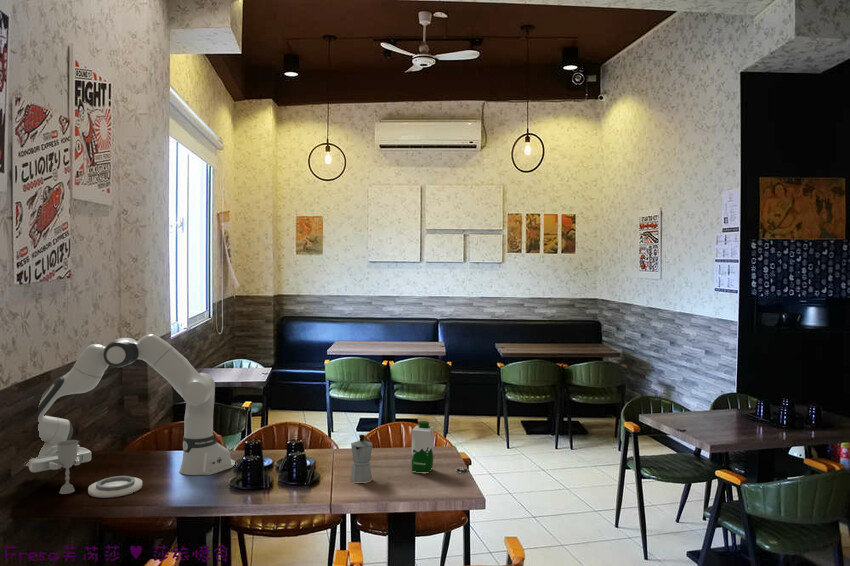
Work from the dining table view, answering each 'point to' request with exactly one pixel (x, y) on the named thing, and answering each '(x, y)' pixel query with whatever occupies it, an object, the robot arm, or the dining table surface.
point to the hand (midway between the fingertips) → (68, 464)
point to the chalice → (67, 461)
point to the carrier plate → (115, 486)
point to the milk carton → (422, 447)
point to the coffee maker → (361, 460)
